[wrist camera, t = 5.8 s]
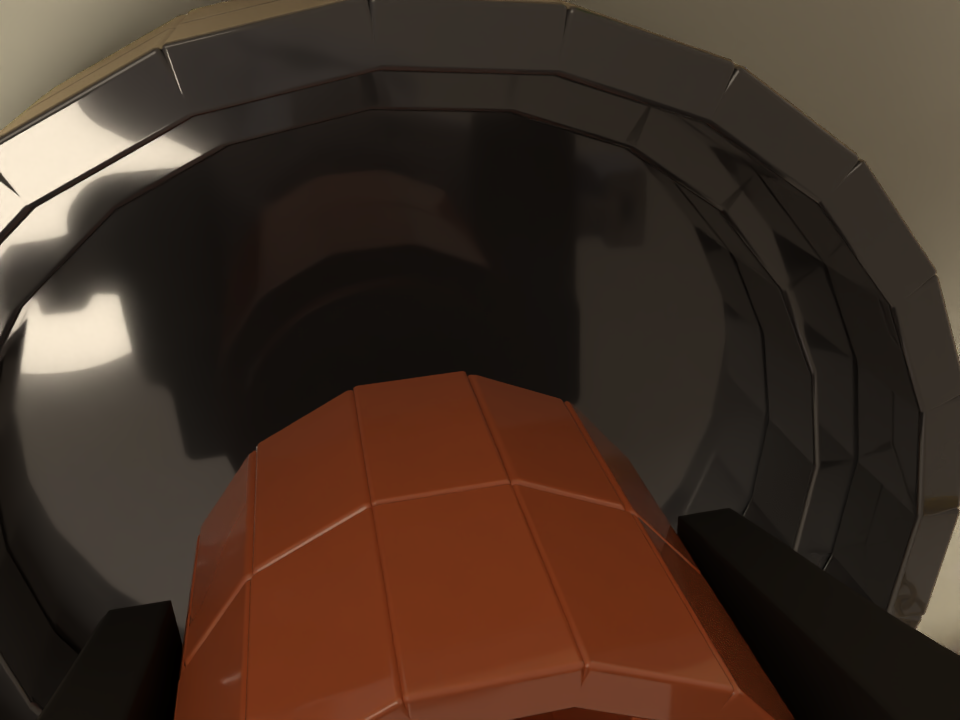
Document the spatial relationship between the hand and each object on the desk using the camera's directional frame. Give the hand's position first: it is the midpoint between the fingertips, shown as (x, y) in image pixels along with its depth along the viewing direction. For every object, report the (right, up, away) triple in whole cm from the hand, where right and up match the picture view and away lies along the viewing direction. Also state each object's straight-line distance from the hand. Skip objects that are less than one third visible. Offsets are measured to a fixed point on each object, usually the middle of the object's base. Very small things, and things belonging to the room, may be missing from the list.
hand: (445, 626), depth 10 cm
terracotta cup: (0, +1, +1) cm, 1 cm away
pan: (-1, +2, +3) cm, 3 cm away
